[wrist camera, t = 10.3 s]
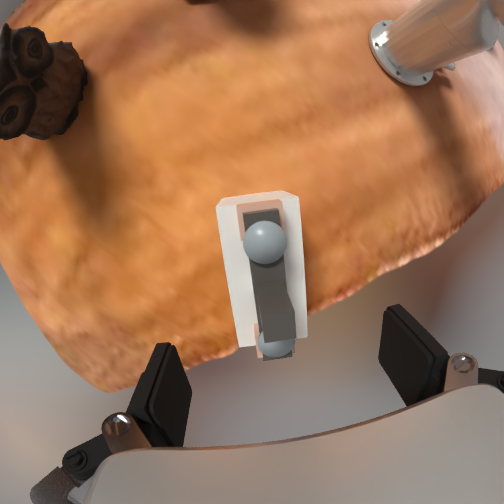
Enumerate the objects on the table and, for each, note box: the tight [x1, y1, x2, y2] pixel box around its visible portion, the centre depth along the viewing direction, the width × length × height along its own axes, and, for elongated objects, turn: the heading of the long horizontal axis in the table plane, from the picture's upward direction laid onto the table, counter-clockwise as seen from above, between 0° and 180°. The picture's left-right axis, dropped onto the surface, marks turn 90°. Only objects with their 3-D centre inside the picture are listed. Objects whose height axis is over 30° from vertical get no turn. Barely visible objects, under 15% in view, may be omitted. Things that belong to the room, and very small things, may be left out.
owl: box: [0, 23, 88, 140], centre depth 20 cm, size 13×13×20 cm
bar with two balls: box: [243, 208, 296, 361], centre depth 23 cm, size 4×15×9 cm, turn 7°
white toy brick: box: [216, 190, 308, 358], centre depth 32 cm, size 8×16×12 cm, turn 7°
